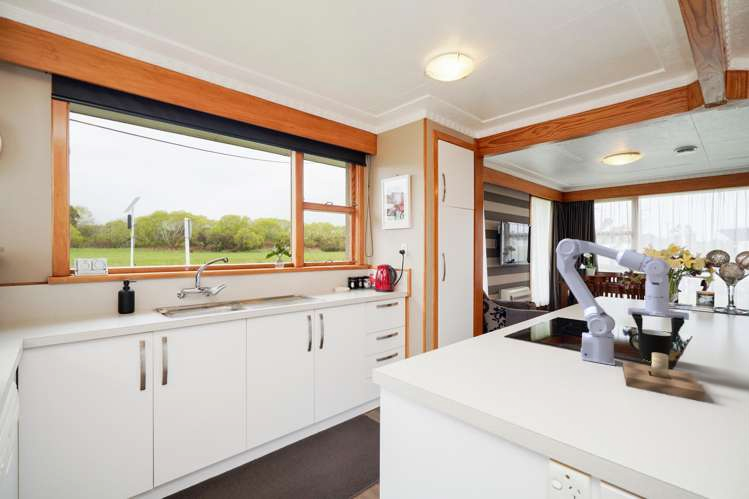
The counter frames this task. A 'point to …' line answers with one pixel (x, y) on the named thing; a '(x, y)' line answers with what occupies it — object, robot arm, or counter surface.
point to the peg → (659, 365)
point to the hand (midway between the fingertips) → (656, 339)
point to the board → (663, 382)
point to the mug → (652, 343)
